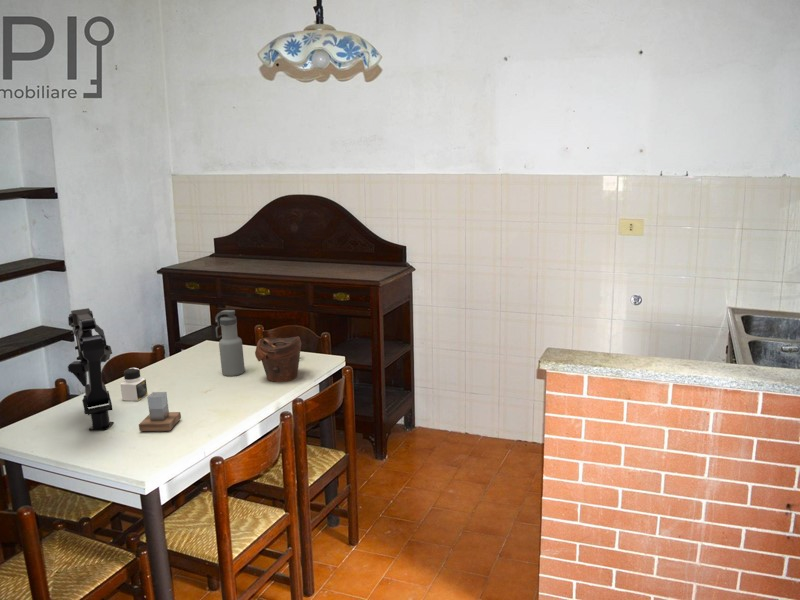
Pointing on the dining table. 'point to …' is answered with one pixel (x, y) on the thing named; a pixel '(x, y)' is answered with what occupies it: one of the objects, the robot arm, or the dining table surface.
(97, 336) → the robot arm
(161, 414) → the block
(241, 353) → the water bottle
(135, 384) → the medicine bottle
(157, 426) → the walnut stand
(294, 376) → the case
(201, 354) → the dining table surface
